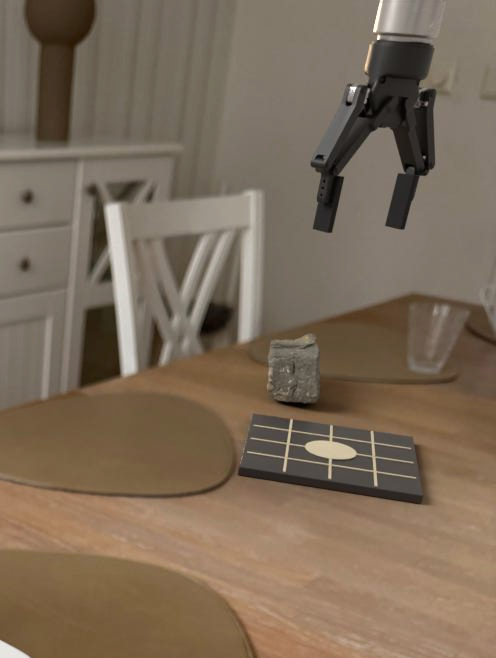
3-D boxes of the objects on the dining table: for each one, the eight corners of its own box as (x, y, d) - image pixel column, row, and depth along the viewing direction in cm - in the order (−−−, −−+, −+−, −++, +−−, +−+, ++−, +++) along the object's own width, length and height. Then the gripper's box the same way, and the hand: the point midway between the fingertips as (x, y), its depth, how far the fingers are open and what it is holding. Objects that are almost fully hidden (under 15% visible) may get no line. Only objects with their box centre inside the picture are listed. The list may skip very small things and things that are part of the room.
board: (410, 444, 124) (413, 435, 123) (421, 504, 107) (423, 494, 106) (251, 420, 128) (252, 411, 127) (237, 474, 111) (239, 465, 111)
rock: (240, 340, 144) (308, 325, 143) (244, 385, 147) (310, 370, 146) (274, 371, 129) (349, 354, 128) (278, 420, 132) (351, 404, 132)
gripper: (446, 44, 126) (401, 221, 137) (305, 32, 114) (269, 226, 125) (496, 47, 120) (445, 231, 132) (354, 35, 109) (311, 238, 120)
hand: (359, 229), depth 128 cm, fingers open, 13 cm apart
